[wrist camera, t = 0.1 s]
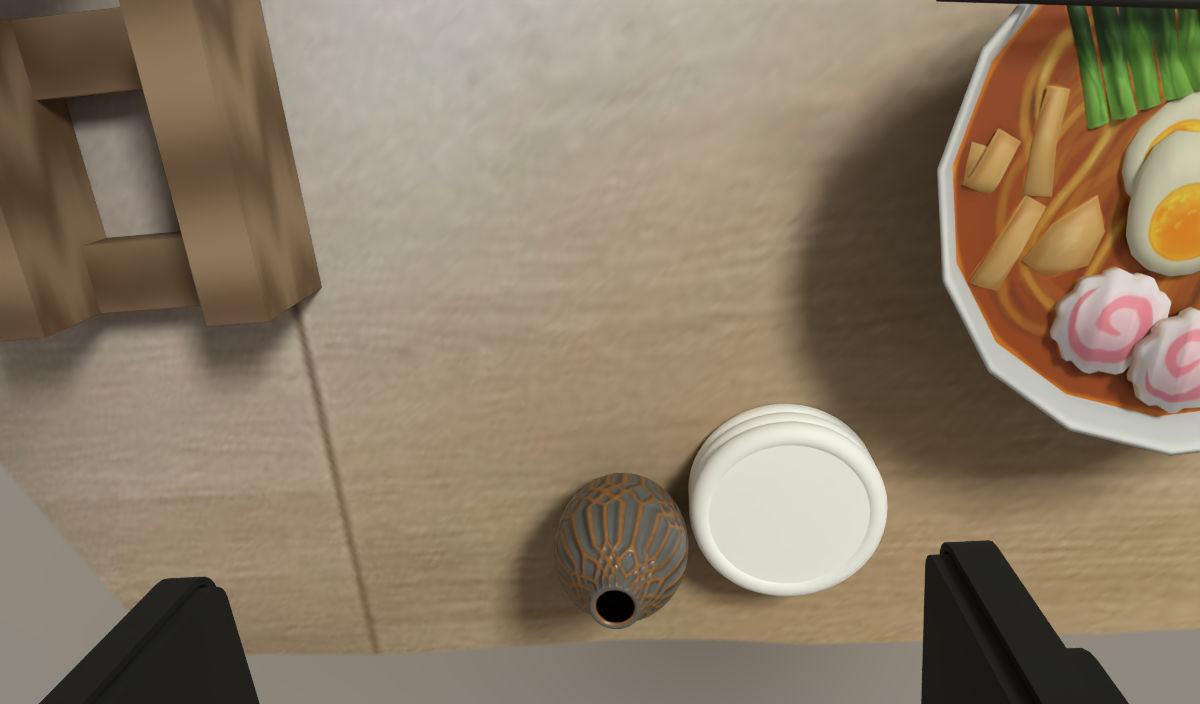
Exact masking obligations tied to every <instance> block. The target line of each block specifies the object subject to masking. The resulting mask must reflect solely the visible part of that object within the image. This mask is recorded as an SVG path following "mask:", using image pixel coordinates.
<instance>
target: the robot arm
mask: <svg viewBox="0 0 1200 704" xmlns="http://www.w3.org/2000/svg"><path fill="white" fill-rule="evenodd" d="M921 700H922V701H921V704H1129V703H1128V702H1127V701H1126V699H1125V698H1124V696H1123V695H1122V694H1121V692H1120V691H1119V689H1118V688H1117V687H1116V685H1115V684H1114V683H1113V681H1112V680H1111V678H1110V677H1109V676H1108V674H1107V673H1106V671H1105V670H1104V669H1103V667H1102V666H1101V664H1100V663H1099V662H1098V660H1097V659H1096V658H1095V657H1094V656H1093V655H1092V654H1091V653H1090V652H1089V651H1087V650H1085V649H1083V648H1066V647H1065V645H1064V644H1063V642H1062V641H1061V640H1060V638H1059V637H1058V635H1057V634H1056V632H1055V631H1054V629H1053V628H1052V626H1051V625H1050V623H1049V622H1048V620H1047V619H1046V617H1045V616H1044V615H1043V613H1042V612H1041V610H1040V609H1039V607H1038V606H1037V604H1036V603H1035V601H1034V600H1033V598H1032V597H1031V595H1030V594H1029V593H1028V591H1027V590H1026V588H1025V587H1024V585H1023V584H1022V582H1021V581H1020V579H1019V578H1018V576H1017V575H1016V573H1015V572H1014V571H1013V569H1012V568H1011V566H1010V565H1009V563H1008V562H1007V560H1006V559H1005V557H1004V556H1003V554H1002V553H1001V551H1000V550H999V549H998V547H997V546H996V545H995V544H994V542H993V541H989V540H987V541H965V542H944V543H943V544H942V546H941V549H940V555H928V556H927V558H926V564H925V593H924V628H923V666H922V699H921ZM39 704H259V700H258V697H257V694H256V691H255V687H254V684H253V680H252V677H251V674H250V670H249V667H248V664H247V661H246V657H245V654H244V650H243V647H242V644H241V640H240V637H239V634H238V630H237V627H236V624H235V620H234V617H233V614H232V610H231V607H230V604H229V600H228V597H227V595H226V592H225V591H224V590H223V589H222V588H220V587H216V585H215V583H214V582H213V581H212V580H211V579H210V578H207V577H187V578H168V579H164V580H162V581H160V582H159V583H157V584H156V585H155V586H154V587H153V588H152V589H151V590H150V591H149V592H148V593H147V594H146V595H145V596H144V597H143V598H142V599H141V600H140V601H139V603H138V604H137V605H136V606H135V607H134V608H133V609H132V610H131V611H130V612H129V613H128V614H127V615H126V616H125V617H124V618H123V619H122V620H121V621H120V622H119V623H118V624H117V625H116V626H115V627H114V628H113V629H112V630H111V631H110V632H109V633H108V634H107V635H106V636H105V637H104V638H103V639H102V640H101V641H100V642H99V643H98V644H97V645H96V646H95V647H94V648H93V649H92V650H91V652H89V653H88V654H87V655H86V656H85V657H84V659H83V660H82V661H80V663H79V664H78V665H77V666H76V667H75V668H74V669H73V670H72V671H71V672H70V673H69V674H68V675H67V676H66V677H65V678H64V679H63V680H62V681H61V682H60V683H59V684H58V685H57V686H56V687H55V688H54V689H53V690H52V691H51V692H50V693H49V694H48V695H47V696H46V697H45V698H44V699H43V700H42V701H41V702H40V703H39Z"/></svg>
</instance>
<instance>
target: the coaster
mask: <svg viewBox="0 0 1200 704" xmlns="http://www.w3.org/2000/svg"><path fill="white" fill-rule="evenodd" d="M688 495H689V516H690V523H691V528H692V531H693V534H694V538H695V540H696V542H697V544H698V546H699V548H700V550H701V551H702V553H703V554H704V556H705V557H706V559H707V560H708V561H709V563H710V564H711V565H712V566H713V567H714V568H715V569H716V570H717V571H718V572H719V573H721V574H722V575H723V576H724V577H726V578H727V579H729V580H730V581H732V582H733V583H735V584H737V585H739V586H741V587H743V588H745V589H748V590H751V591H754V592H757V593H762V594H766V595H774V596H798V595H805V594H810V593H815V592H818V591H821V590H825V589H827V588H830V587H832V586H834V585H837V584H838V583H840V582H842V581H844V580H845V579H847V578H848V577H850V576H851V575H853V574H854V573H855V572H857V571H858V570H859V569H860V568H861V567H862V566H863V565H864V564H865V563H866V562H867V561H868V559H869V558H870V557H871V556H872V554H873V553H874V551H875V550H876V548H877V546H878V544H879V542H880V540H881V538H882V535H883V532H884V528H885V524H886V517H887V495H886V491H885V486H884V483H883V480H882V478H881V475H880V473H879V471H878V469H877V467H876V466H875V463H874V461H873V459H872V458H871V456H870V453H869V451H868V450H867V448H866V446H865V444H864V443H863V442H862V440H861V439H860V438H859V437H858V435H857V434H856V433H855V432H854V431H853V430H852V429H851V428H850V427H848V426H847V425H846V424H845V423H843V422H842V421H840V420H839V419H838V418H836V417H834V416H832V415H830V414H828V413H826V412H824V411H821V410H818V409H816V408H813V407H808V406H804V405H797V404H773V405H766V406H761V407H757V408H753V409H751V410H748V411H745V412H742V413H740V414H738V415H736V416H734V417H732V418H731V419H729V420H728V421H726V422H725V423H723V424H722V425H721V426H720V427H718V428H717V429H716V430H715V431H714V432H713V433H712V434H711V435H710V436H709V437H708V438H707V440H706V441H705V442H704V444H703V445H702V447H701V448H700V450H699V451H698V453H697V455H696V457H695V459H694V462H693V465H692V468H691V471H690V477H689V485H688Z"/></svg>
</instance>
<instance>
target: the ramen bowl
mask: <svg viewBox="0 0 1200 704" xmlns="http://www.w3.org/2000/svg"><path fill="white" fill-rule="evenodd" d="M936 1H941V2H972V3H1004V4H1018V6H1017V7H1016V8H1015V9H1014V10H1013V12H1012V13H1011V14H1010V15H1009V17H1008V18H1007V19H1006V20H1005V21H1004V23H1003V24H1002V25H1001V26H1000V28H999V29H998V30H997V31H996V32H995V34H994V35H993V36H992V37H991V39H990V40H989V41H988V42H987V44H986V45H985V46H984V47H983V48H982V51H981V53H980V56H979V59H978V61H977V64H976V67H975V69H974V72H973V75H972V78H971V80H970V83H969V86H968V88H967V91H966V94H965V96H964V99H963V102H962V104H961V107H960V110H959V112H958V115H957V118H956V120H955V123H954V126H953V129H952V131H951V134H950V137H949V139H948V142H947V145H946V147H945V150H944V153H943V155H942V158H941V161H940V163H939V166H938V169H937V177H938V198H939V220H940V241H941V262H942V282H943V284H944V286H945V288H946V289H947V291H948V293H949V295H950V297H951V299H952V301H953V303H954V305H955V307H956V309H957V311H958V313H959V315H960V317H961V319H962V321H963V323H964V325H965V327H966V329H967V331H968V333H969V335H970V337H971V339H972V341H973V343H974V345H975V347H976V349H977V351H978V353H979V355H980V357H981V359H982V361H983V363H984V365H985V366H986V368H987V370H988V372H989V373H991V374H992V375H994V376H995V377H996V378H998V379H999V380H1000V381H1002V382H1003V383H1004V384H1006V385H1007V386H1009V387H1010V388H1011V389H1013V390H1014V391H1015V392H1017V393H1018V394H1019V395H1021V396H1022V397H1024V398H1025V399H1026V400H1028V401H1029V402H1030V403H1032V404H1033V405H1034V406H1036V407H1037V408H1039V409H1040V410H1041V411H1043V412H1044V413H1045V414H1047V415H1048V416H1049V417H1051V418H1052V419H1053V420H1055V421H1056V422H1058V423H1059V424H1060V425H1062V426H1063V427H1064V428H1066V429H1067V430H1069V431H1073V432H1077V433H1081V434H1085V435H1089V436H1093V437H1097V438H1101V439H1105V440H1109V441H1113V442H1117V443H1121V444H1125V445H1129V446H1133V447H1138V448H1142V449H1146V450H1150V451H1154V452H1158V453H1162V454H1166V455H1170V456H1173V455H1182V454H1190V453H1199V452H1200V0H936Z"/></svg>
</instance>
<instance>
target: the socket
mask: <svg viewBox="0 0 1200 704" xmlns="http://www.w3.org/2000/svg"><path fill="white" fill-rule="evenodd" d="M119 2H120V5H121V7H117V8H109V9H101V10H92V11H84V12H75V13H67V14H59V15H50V16H42V17H33V18H25V19H17V20H0V341H10V340H24V339H37V338H46V337H48V336H50V335H53V334H55V333H57V332H60V331H62V330H64V329H66V328H69V327H71V326H73V325H75V324H78V323H80V322H82V321H85V320H87V319H89V318H91V317H94V316H96V315H98V314H100V313H111V312H124V311H137V310H150V309H163V308H176V307H189V306H201V308H202V312H203V316H204V320H205V323H206V326H215V325H228V324H242V323H256V322H269V321H270V320H272V319H273V318H275V317H276V316H278V315H280V314H281V313H283V312H284V311H286V310H287V309H289V308H290V307H292V306H293V305H295V304H297V303H298V302H300V301H301V300H303V299H304V298H306V297H307V296H309V295H310V294H312V293H314V292H315V291H317V290H318V289H320V288H321V282H320V277H319V273H318V268H317V263H316V259H315V254H314V249H313V245H312V240H311V236H310V231H309V226H308V222H307V217H306V212H305V208H304V203H303V198H302V194H301V189H300V184H299V180H298V175H297V171H296V166H295V161H294V157H293V152H292V147H291V143H290V138H289V133H288V129H287V124H286V119H285V115H284V110H283V106H282V101H281V96H280V92H279V87H278V82H277V78H276V73H275V68H274V64H273V59H272V54H271V50H270V45H269V40H268V36H267V31H266V27H265V22H264V17H263V13H262V8H261V3H260V0H119ZM137 90H143V91H144V95H145V99H146V103H147V106H148V110H149V114H150V118H151V121H152V125H153V129H154V133H155V136H156V140H157V144H158V148H159V151H160V155H161V159H162V163H163V166H164V170H165V174H166V177H167V181H168V185H169V189H170V192H171V196H172V200H173V204H174V207H175V211H176V215H177V219H178V222H179V226H180V230H181V232H170V233H159V234H147V235H136V236H124V237H113V238H106V236H105V232H104V229H103V226H102V222H101V219H100V216H99V212H98V209H97V206H96V202H95V199H94V196H93V192H92V189H91V185H90V182H89V179H88V175H87V172H86V169H85V165H84V162H83V159H82V155H81V152H80V149H79V145H78V142H77V139H76V135H75V132H74V128H73V125H72V122H71V118H70V115H69V112H68V108H67V105H66V102H65V98H72V97H81V96H91V95H100V94H109V93H119V92H128V91H137Z"/></svg>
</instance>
